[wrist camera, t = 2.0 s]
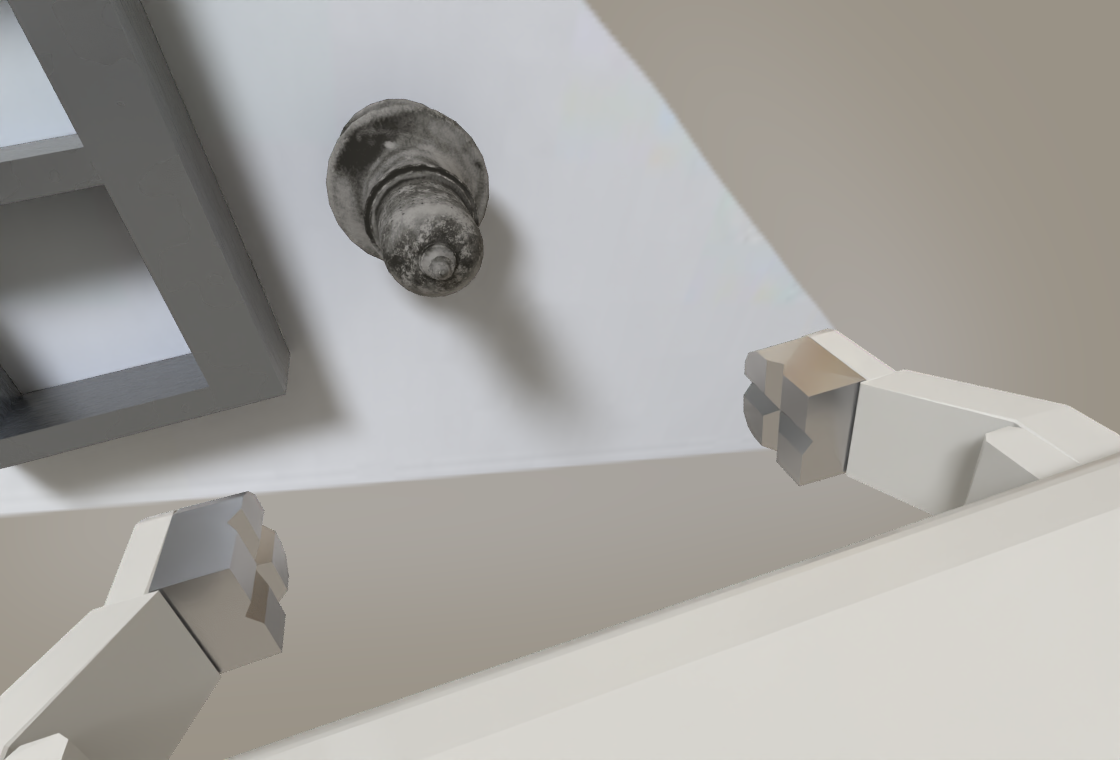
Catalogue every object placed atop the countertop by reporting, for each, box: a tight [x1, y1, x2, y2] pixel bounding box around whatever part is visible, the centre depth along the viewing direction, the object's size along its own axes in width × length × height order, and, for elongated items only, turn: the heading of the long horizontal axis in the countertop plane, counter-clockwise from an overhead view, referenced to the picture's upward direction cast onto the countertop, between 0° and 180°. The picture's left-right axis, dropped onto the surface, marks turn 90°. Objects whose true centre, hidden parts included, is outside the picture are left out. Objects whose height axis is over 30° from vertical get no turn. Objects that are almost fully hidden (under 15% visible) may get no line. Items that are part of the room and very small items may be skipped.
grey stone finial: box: [326, 99, 489, 297], centre depth 22 cm, size 6×6×12 cm
